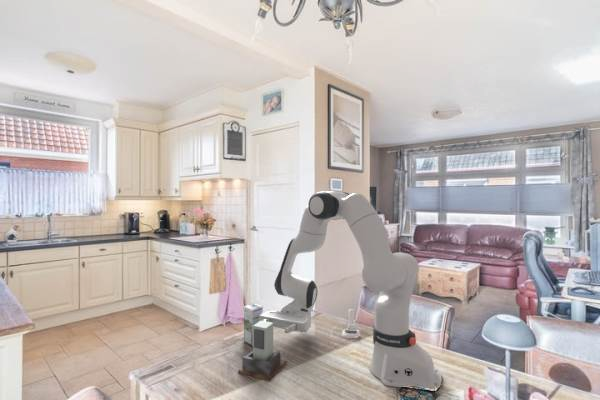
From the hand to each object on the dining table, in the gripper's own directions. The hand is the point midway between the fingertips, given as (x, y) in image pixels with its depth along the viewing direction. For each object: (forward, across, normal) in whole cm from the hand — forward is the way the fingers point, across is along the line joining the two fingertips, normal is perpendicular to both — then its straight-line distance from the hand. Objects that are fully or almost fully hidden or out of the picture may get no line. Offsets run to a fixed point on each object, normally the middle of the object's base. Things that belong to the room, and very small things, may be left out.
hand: (274, 328), depth 115 cm
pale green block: (+8, 0, +10) cm, 12 cm away
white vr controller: (-30, +20, +11) cm, 38 cm away
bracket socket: (+8, 0, +11) cm, 13 cm away
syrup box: (-8, -14, +11) cm, 19 cm away
